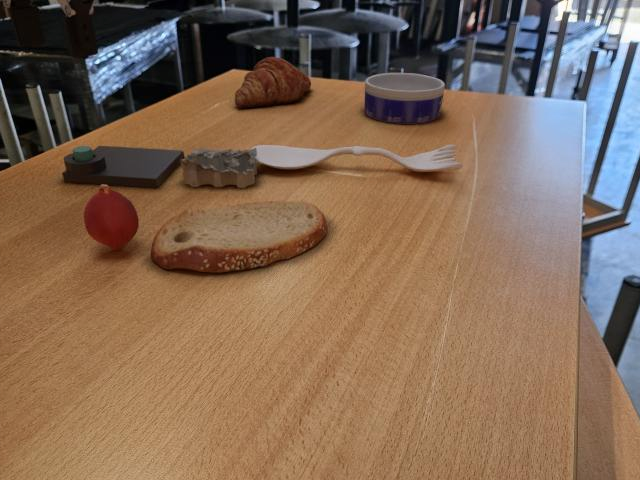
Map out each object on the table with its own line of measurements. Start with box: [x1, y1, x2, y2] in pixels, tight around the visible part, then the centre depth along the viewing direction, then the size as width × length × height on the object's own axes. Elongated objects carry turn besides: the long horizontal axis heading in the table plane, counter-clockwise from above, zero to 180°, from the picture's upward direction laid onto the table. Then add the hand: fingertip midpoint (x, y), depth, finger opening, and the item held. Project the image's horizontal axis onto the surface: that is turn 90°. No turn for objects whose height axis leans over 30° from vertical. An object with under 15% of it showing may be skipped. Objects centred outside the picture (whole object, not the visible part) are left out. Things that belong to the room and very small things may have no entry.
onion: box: [83, 184, 140, 251], centre depth 65 cm, size 6×6×8 cm
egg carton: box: [180, 147, 258, 189], centre depth 84 cm, size 11×8×4 cm
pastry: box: [234, 56, 312, 109], centre depth 119 cm, size 17×15×8 cm
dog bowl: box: [364, 72, 446, 125], centre depth 112 cm, size 15×15×6 cm
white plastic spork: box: [250, 143, 464, 173], centre depth 88 cm, size 9×32×4 cm, turn 86°
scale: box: [61, 145, 185, 189], centre depth 86 cm, size 14×12×3 cm
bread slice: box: [150, 200, 328, 274], centre depth 68 cm, size 18×18×4 cm
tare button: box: [72, 145, 94, 161], centre depth 83 cm, size 3×3×2 cm
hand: (57, 50), depth 65 cm, fingers open, 9 cm apart
